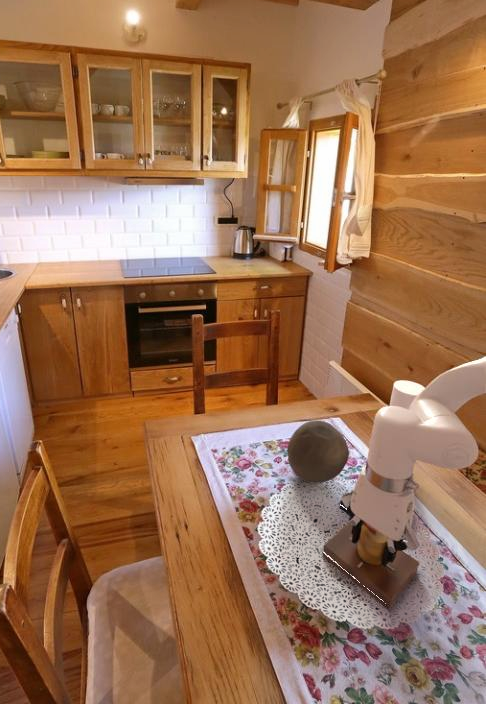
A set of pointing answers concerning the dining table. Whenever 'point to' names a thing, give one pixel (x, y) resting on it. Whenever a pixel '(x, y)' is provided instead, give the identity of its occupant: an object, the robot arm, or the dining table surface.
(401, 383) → the cylindrical container
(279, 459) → the dining table surface
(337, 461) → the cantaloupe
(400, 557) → the knob panel
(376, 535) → the dial knob
